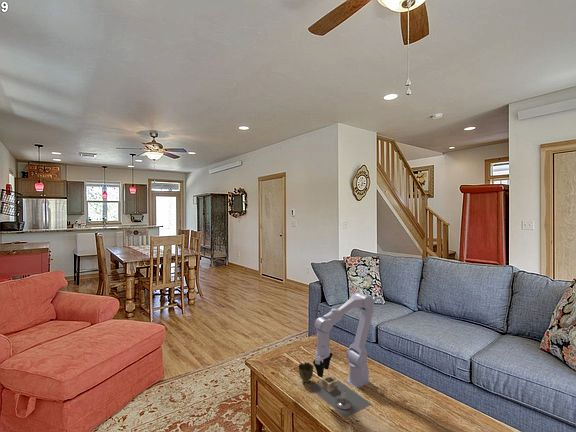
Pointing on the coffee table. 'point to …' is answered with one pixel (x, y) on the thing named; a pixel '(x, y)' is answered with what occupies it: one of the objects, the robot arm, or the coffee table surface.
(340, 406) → the post
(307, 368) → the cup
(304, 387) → the coffee table surface
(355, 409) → the mat
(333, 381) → the collar
